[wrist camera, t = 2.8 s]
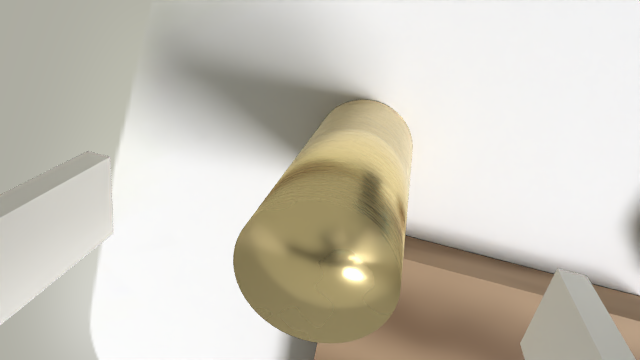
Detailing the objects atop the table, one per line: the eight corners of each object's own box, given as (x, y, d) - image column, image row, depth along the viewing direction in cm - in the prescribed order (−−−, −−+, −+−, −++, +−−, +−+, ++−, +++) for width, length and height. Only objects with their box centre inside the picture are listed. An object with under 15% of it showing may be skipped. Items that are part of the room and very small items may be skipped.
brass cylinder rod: (325, 89, 19) (240, 180, 11) (424, 111, 19) (421, 227, 10) (310, 177, 21) (227, 317, 13) (399, 199, 21) (378, 362, 12)
